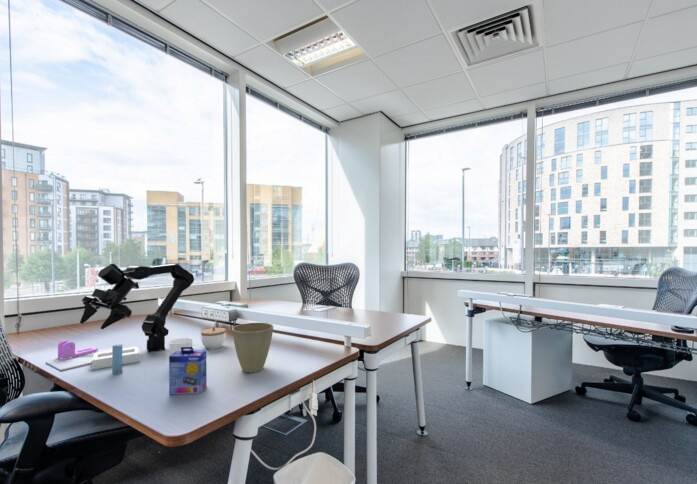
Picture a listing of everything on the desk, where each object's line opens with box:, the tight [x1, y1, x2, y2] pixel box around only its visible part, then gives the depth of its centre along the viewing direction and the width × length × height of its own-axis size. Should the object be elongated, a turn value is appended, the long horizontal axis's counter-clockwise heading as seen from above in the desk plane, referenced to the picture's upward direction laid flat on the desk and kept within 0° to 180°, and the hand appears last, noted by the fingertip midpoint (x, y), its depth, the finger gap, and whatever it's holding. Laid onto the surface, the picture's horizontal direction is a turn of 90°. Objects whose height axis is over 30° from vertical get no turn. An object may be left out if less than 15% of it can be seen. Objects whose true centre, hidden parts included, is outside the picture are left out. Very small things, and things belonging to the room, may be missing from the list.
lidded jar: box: [200, 326, 227, 350], centre depth 149 cm, size 11×11×9 cm
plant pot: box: [231, 322, 274, 374], centre depth 121 cm, size 15×15×16 cm
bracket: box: [57, 339, 99, 360], centre depth 140 cm, size 13×6×7 cm, turn 152°
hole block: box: [91, 345, 140, 371], centre depth 130 cm, size 15×11×4 cm
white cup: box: [168, 337, 193, 356], centre depth 124 cm, size 8×8×10 cm
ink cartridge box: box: [168, 346, 208, 395], centre depth 103 cm, size 10×6×14 cm, turn 95°
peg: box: [111, 343, 123, 375], centre depth 118 cm, size 3×3×10 cm
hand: (91, 325), depth 122 cm, fingers open, 9 cm apart
